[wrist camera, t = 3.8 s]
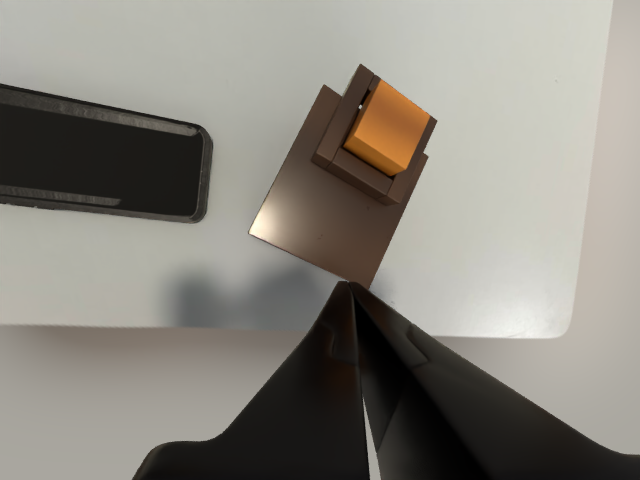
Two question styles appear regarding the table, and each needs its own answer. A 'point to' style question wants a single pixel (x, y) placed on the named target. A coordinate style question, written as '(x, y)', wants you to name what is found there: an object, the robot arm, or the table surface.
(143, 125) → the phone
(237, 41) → the table surface
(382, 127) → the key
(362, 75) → the stepped brown pedestal
